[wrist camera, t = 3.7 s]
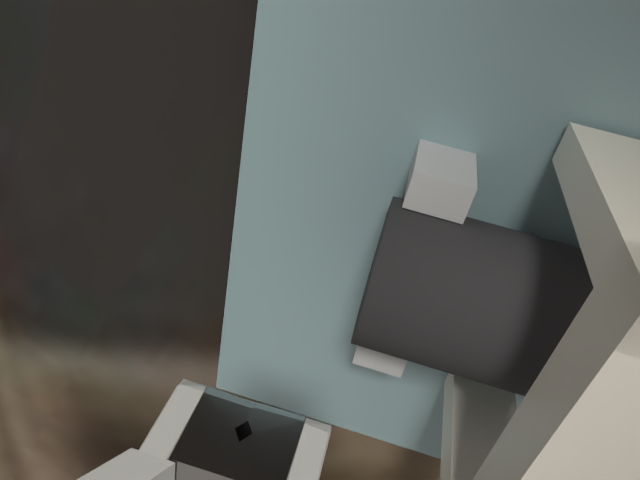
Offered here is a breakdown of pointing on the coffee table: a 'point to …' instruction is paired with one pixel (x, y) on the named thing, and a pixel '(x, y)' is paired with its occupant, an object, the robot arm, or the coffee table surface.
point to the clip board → (398, 174)
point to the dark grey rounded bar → (469, 297)
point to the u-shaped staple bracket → (570, 346)
